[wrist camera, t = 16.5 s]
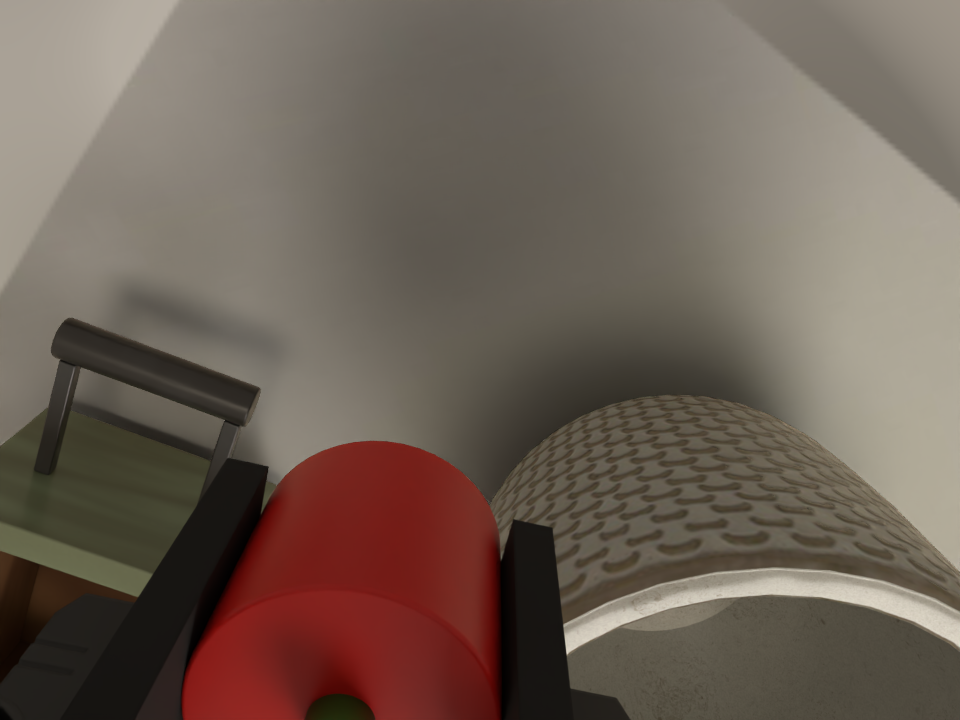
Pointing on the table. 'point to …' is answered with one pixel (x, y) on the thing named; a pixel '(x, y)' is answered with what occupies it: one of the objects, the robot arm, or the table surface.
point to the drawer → (101, 484)
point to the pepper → (359, 598)
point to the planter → (735, 570)
